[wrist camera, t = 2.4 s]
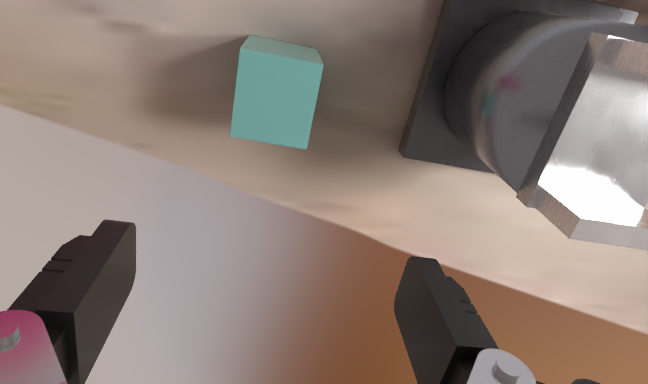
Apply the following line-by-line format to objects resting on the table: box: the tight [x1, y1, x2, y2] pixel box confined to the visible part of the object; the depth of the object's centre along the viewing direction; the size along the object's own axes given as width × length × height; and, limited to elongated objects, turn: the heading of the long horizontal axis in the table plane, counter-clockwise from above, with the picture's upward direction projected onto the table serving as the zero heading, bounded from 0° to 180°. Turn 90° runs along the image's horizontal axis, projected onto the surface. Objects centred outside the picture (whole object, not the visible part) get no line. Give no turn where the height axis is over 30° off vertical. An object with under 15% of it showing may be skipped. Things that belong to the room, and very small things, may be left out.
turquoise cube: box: [230, 35, 324, 150], centre depth 29 cm, size 6×5×7 cm
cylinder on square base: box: [399, 0, 648, 250], centre depth 26 cm, size 14×14×16 cm
